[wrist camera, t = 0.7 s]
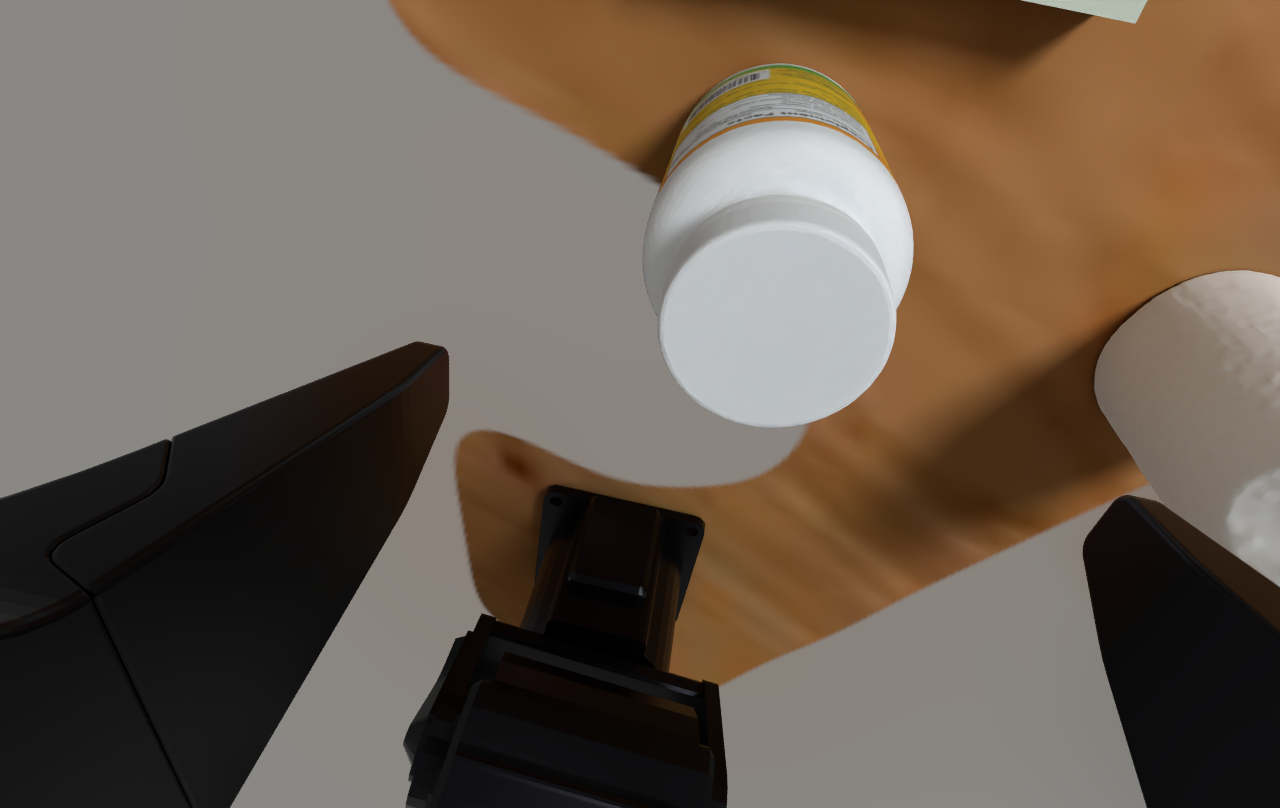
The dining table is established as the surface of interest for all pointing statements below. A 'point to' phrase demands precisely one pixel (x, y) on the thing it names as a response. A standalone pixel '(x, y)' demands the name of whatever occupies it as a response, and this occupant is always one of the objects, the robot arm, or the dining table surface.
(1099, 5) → the tray
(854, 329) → the supplement bottle
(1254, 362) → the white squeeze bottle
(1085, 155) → the dining table surface
